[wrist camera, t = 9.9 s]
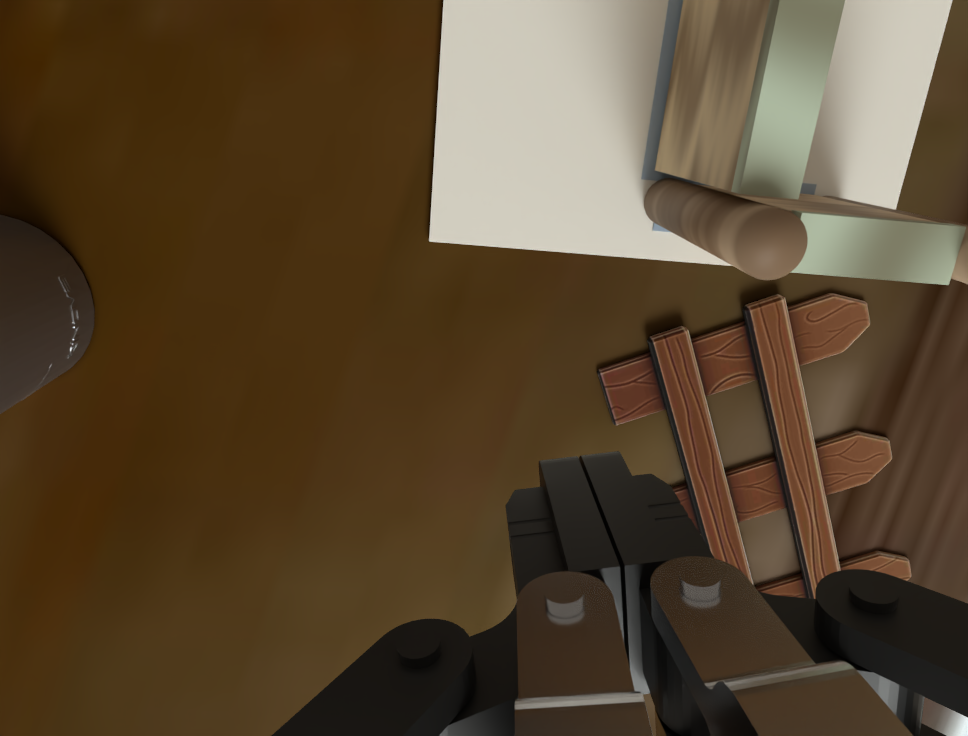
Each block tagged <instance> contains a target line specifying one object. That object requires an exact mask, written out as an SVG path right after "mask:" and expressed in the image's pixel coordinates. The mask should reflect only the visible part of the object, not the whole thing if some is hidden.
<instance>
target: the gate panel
mask: <svg viewBox="0 0 968 736" xmlns="http://www.w3.org/2000/svg"><path fill="white" fill-rule="evenodd" d="M844 3H845V0H683V4H682V10H681V16H680V22H679V28H678V34H677V40H676V46H675V52H674V58H673V64H672V70H671V76H670V82H669V88H668V94H667V100H666V106H665V112H664V118H663V124H662V130H661V136H660V142H659V148H658V154H657V160H656V166H655V171H659V172H663V173H666V174H670V175H674V176H677V177H681V178H685V179H688V180H692V181H695V182H699V183H703V184H706V185H710V186H714V187H717V188H721V189H724V190H728V191H731V192H734V193H738V194H746V195H756V196H767V197H777V198H788V199H799V195H800V191H801V186H802V182H803V178H804V174H805V169H806V165H807V161H808V157H809V152H810V148H811V144H812V139H813V135H814V131H815V127H816V122H817V118H818V114H819V110H820V105H821V101H822V97H823V93H824V88H825V84H826V80H827V76H828V71H829V67H830V63H831V59H832V54H833V50H834V46H835V42H836V37H837V33H838V29H839V25H840V20H841V16H842V12H843V7H844Z"/></svg>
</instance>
